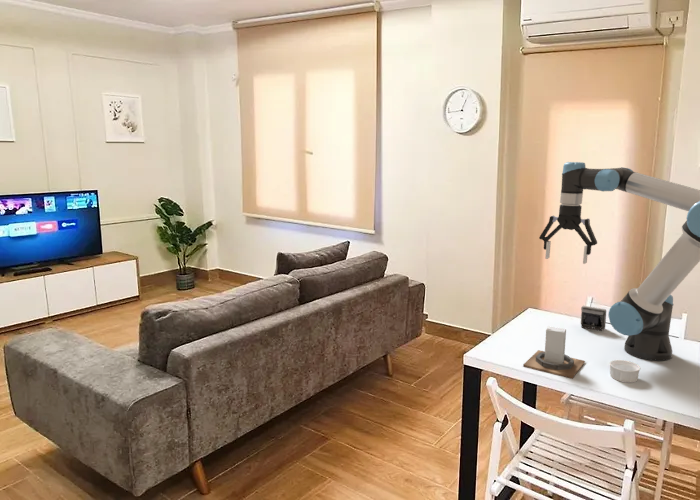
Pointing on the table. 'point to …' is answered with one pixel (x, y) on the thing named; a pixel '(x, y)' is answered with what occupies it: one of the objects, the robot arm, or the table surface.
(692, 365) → the table surface
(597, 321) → the electrical switch
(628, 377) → the ramekin
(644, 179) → the robot arm
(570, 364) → the wooden board with ring
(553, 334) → the skincare box
